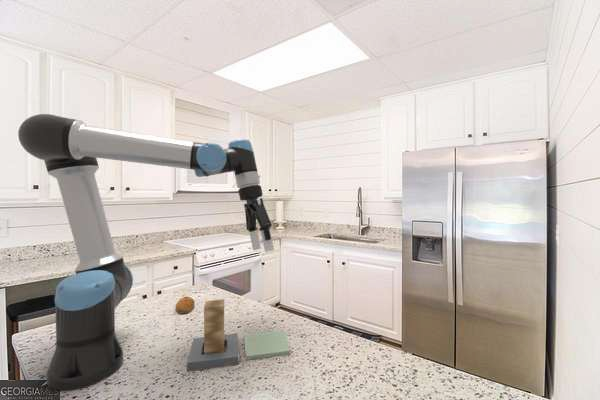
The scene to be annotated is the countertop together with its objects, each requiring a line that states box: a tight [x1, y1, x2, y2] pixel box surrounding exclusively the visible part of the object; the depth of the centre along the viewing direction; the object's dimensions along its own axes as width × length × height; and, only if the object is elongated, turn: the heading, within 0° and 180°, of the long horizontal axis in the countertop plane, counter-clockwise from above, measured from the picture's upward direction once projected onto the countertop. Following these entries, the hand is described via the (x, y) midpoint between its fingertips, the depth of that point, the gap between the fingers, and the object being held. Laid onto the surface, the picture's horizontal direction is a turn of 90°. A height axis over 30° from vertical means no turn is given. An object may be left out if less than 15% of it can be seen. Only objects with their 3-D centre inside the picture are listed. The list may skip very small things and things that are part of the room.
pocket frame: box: [186, 333, 240, 372], centre depth 78 cm, size 12×12×2 cm
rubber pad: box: [243, 329, 291, 361], centre depth 83 cm, size 12×12×1 cm
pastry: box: [175, 296, 195, 315], centre depth 109 cm, size 9×7×4 cm
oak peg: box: [203, 299, 225, 355], centre depth 78 cm, size 5×5×14 cm
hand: (263, 250), depth 93 cm, fingers open, 13 cm apart
